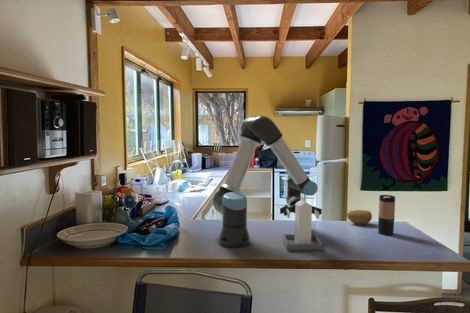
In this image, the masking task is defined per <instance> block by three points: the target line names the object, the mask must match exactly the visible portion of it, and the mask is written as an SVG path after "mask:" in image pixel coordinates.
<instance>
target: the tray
mask: <svg viewBox="0 0 470 313" xmlns="http://www.w3.org/2000/svg"><path fill="white" fill-rule="evenodd" d="M282 241H283V243H284V246H285V248H286V249H285V250H286V251H288V252H289V251H290V252H291V251H292V252H293V251H294V252H299V251H300V252H323V249H324V248H323V247H324V246H323V243H322V241H321V240H320V239H319V237H318V236H317V234H311V244H296V243H295V233H293V234H292V233H291V234H289V233H287V234H286V233H284V234H282Z"/></svg>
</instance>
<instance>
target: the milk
mask: <svg viewBox="0 0 470 313" xmlns="http://www.w3.org/2000/svg"><path fill="white" fill-rule="evenodd" d="M312 206H313V205H312ZM312 206H311V204H309V203H308V202H307V199H306V198H305V197H303V196H301V200H300V201H299V202H297V203H295V213H294V234H295V243H296V244H311V235H312V221H313V220H312V218H313V217H312V215H313V214H312Z"/></svg>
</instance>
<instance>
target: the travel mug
mask: <svg viewBox="0 0 470 313" xmlns="http://www.w3.org/2000/svg"><path fill="white" fill-rule="evenodd" d="M378 202H379V203H378V223H377V224H378V228H377V229H378V234H380V235H383V236H393V235H394V228H395V218H396V217H395V215H396V214H395V212H396V196H394V195H391V194H380V195H379V201H378Z"/></svg>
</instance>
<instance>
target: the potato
mask: <svg viewBox="0 0 470 313" xmlns="http://www.w3.org/2000/svg"><path fill="white" fill-rule="evenodd" d="M371 212H372V211H370V210H362V209H355V210H350V211H348V212H347V214H346V218H347V219H348V221H350V222H351V223H352V224H356V225H365V224H369V223H370V222H371V221H372V219H373V215H372V213H371Z"/></svg>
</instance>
